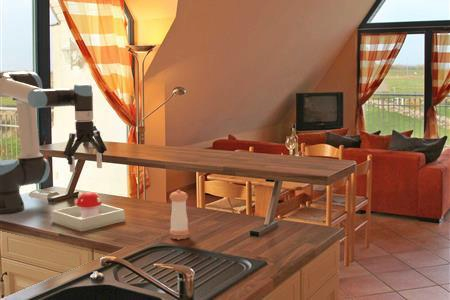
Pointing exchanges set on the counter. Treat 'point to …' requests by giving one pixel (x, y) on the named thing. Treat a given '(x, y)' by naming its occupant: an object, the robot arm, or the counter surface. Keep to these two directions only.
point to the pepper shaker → (179, 213)
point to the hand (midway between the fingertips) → (86, 169)
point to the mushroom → (88, 204)
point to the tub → (74, 219)
